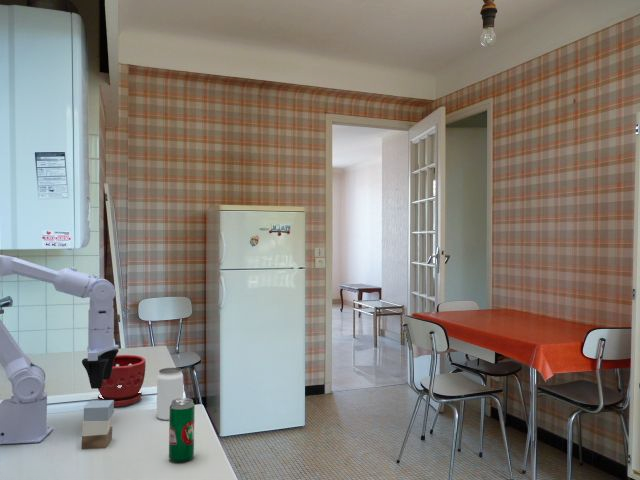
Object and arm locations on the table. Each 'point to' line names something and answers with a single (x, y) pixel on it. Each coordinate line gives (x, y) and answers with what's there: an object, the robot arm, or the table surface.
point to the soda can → (181, 430)
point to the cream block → (96, 428)
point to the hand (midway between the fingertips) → (100, 383)
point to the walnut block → (97, 441)
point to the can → (168, 390)
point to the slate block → (98, 410)
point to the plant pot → (124, 380)
